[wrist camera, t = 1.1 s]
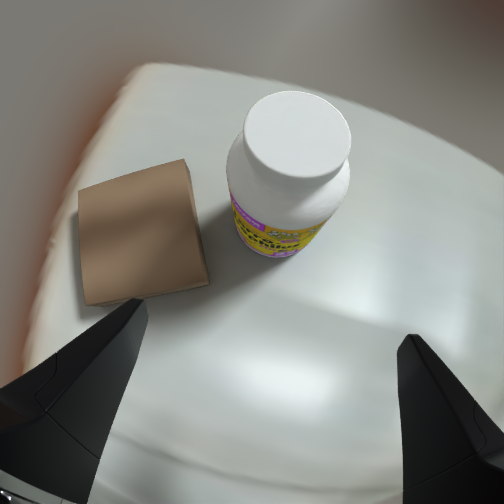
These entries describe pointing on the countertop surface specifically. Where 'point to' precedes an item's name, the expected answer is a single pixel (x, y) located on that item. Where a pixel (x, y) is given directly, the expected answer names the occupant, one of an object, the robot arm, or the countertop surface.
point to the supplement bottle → (288, 171)
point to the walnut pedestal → (140, 236)
